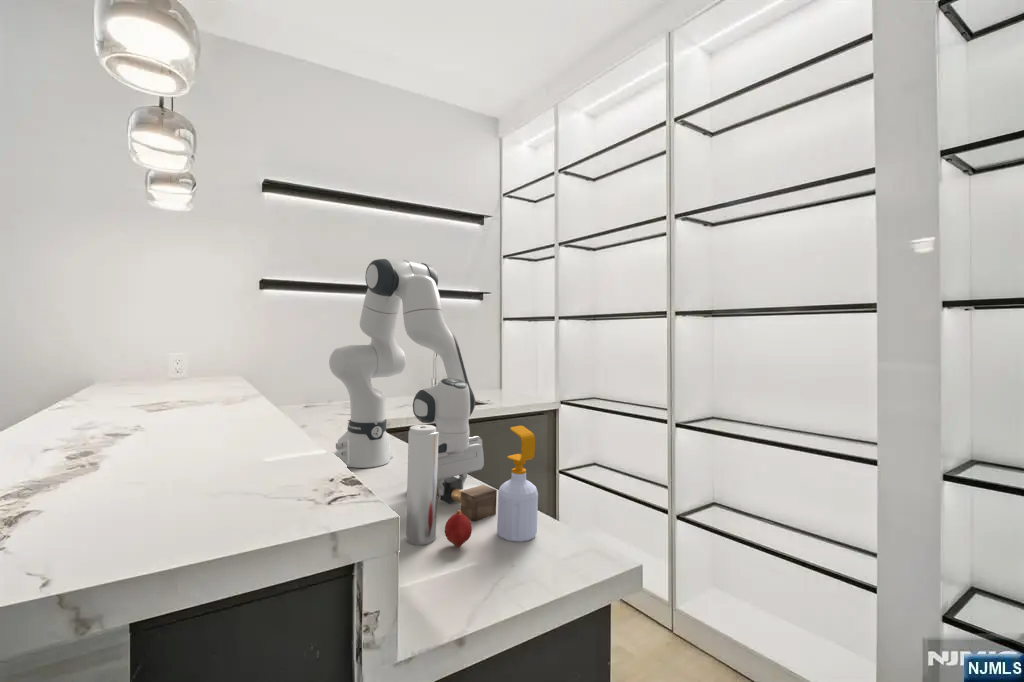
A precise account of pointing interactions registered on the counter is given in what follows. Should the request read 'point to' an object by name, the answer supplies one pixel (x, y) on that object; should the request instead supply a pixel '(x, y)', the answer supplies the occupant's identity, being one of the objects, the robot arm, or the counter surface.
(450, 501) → the hammer
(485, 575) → the counter surface
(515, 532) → the soap bottle
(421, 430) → the silver metal cylinder
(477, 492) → the socket
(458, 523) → the onion
